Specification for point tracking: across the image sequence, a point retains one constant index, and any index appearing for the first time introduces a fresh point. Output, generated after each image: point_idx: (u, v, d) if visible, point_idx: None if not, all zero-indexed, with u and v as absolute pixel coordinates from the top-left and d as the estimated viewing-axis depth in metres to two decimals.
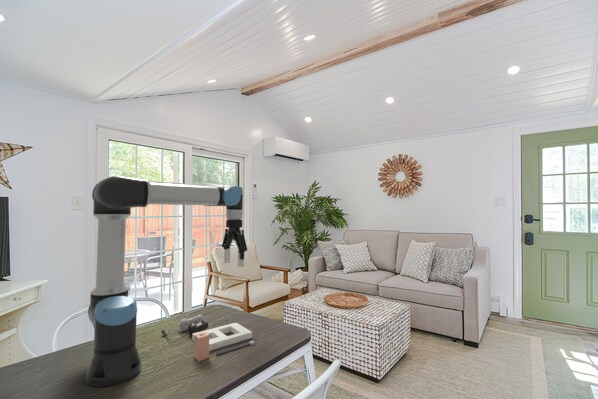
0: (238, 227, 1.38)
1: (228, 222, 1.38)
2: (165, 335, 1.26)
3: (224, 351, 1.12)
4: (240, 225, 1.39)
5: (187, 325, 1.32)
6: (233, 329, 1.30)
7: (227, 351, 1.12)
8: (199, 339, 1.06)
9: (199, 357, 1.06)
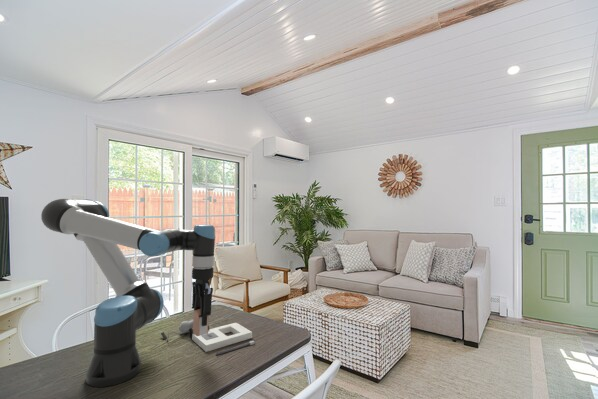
0: (207, 279, 1.07)
1: (194, 272, 1.07)
2: (165, 338, 1.23)
3: (224, 351, 1.12)
4: (210, 276, 1.08)
5: (187, 327, 1.29)
6: (233, 329, 1.30)
7: (227, 351, 1.12)
8: (199, 314, 1.07)
9: (198, 332, 1.06)
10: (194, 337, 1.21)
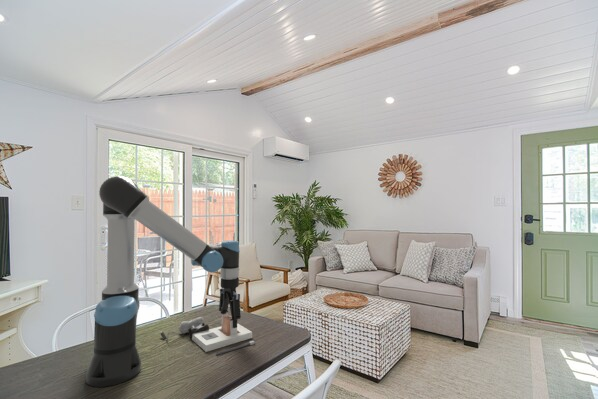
0: (234, 288, 1.24)
1: (223, 282, 1.24)
2: (165, 338, 1.23)
3: (224, 351, 1.12)
4: (236, 285, 1.25)
5: (187, 327, 1.29)
6: None
7: (227, 351, 1.12)
8: (228, 321, 1.24)
9: None
10: (194, 337, 1.21)
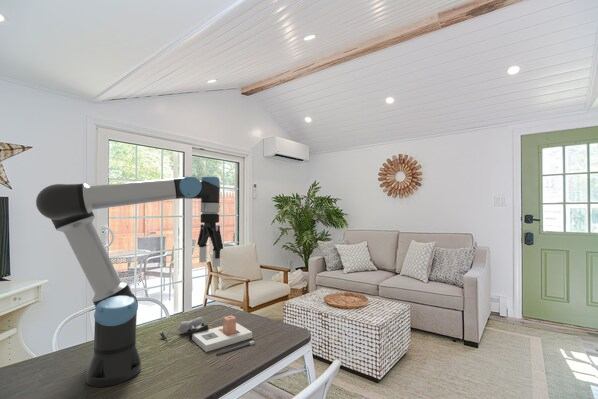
0: (214, 222, 1.23)
1: (202, 217, 1.23)
2: (164, 338, 1.23)
3: (224, 351, 1.12)
4: (216, 220, 1.24)
5: (187, 328, 1.29)
6: None
7: (227, 351, 1.12)
8: (228, 321, 1.24)
9: None
10: (194, 337, 1.21)
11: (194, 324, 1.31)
